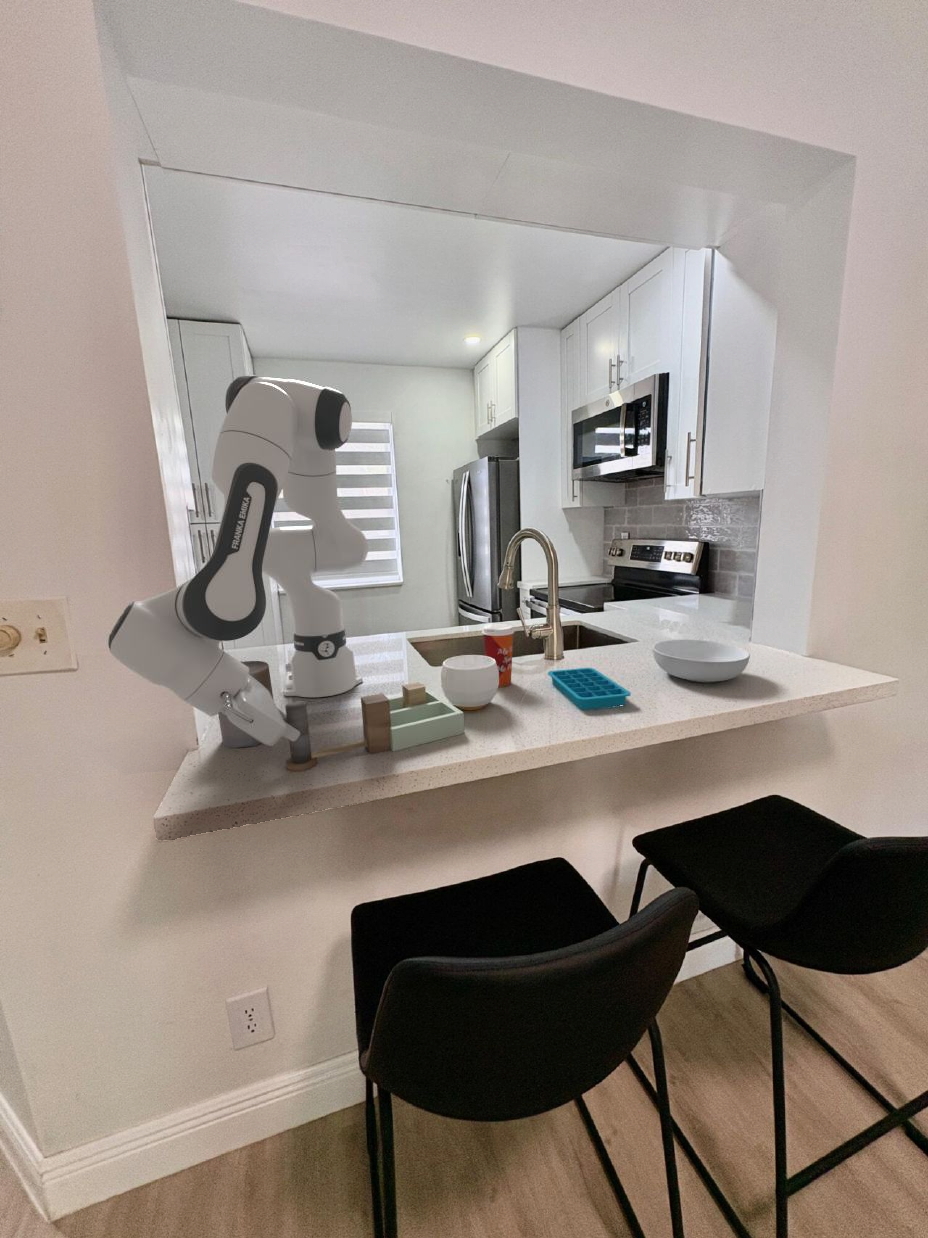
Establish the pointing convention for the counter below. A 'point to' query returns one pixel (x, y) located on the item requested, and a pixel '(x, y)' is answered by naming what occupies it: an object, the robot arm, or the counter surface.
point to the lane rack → (423, 721)
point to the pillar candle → (229, 731)
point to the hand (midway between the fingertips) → (294, 731)
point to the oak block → (413, 694)
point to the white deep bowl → (470, 680)
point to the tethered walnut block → (374, 740)
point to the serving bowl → (700, 659)
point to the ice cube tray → (588, 688)
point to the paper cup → (500, 649)
